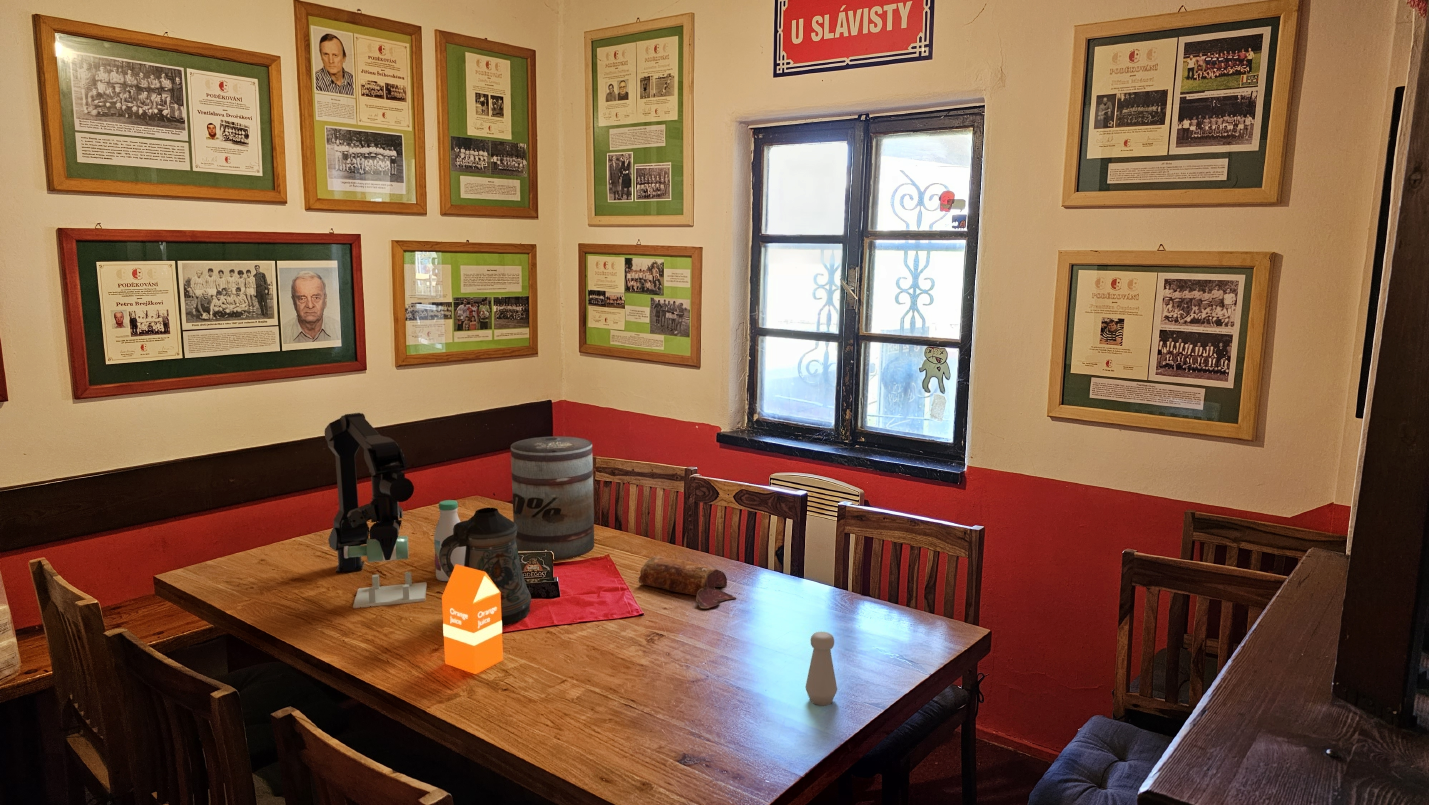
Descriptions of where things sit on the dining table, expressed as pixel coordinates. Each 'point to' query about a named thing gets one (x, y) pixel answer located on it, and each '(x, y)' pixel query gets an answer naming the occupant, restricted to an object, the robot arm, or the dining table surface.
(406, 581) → the white four-legged tray
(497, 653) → the orange juice
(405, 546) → the bottle
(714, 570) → the cured meat
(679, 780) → the dining table surface
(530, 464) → the barrel
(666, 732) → the dining table surface
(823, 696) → the salt shaker
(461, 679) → the dining table surface
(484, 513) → the beer stein
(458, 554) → the milk bottle
